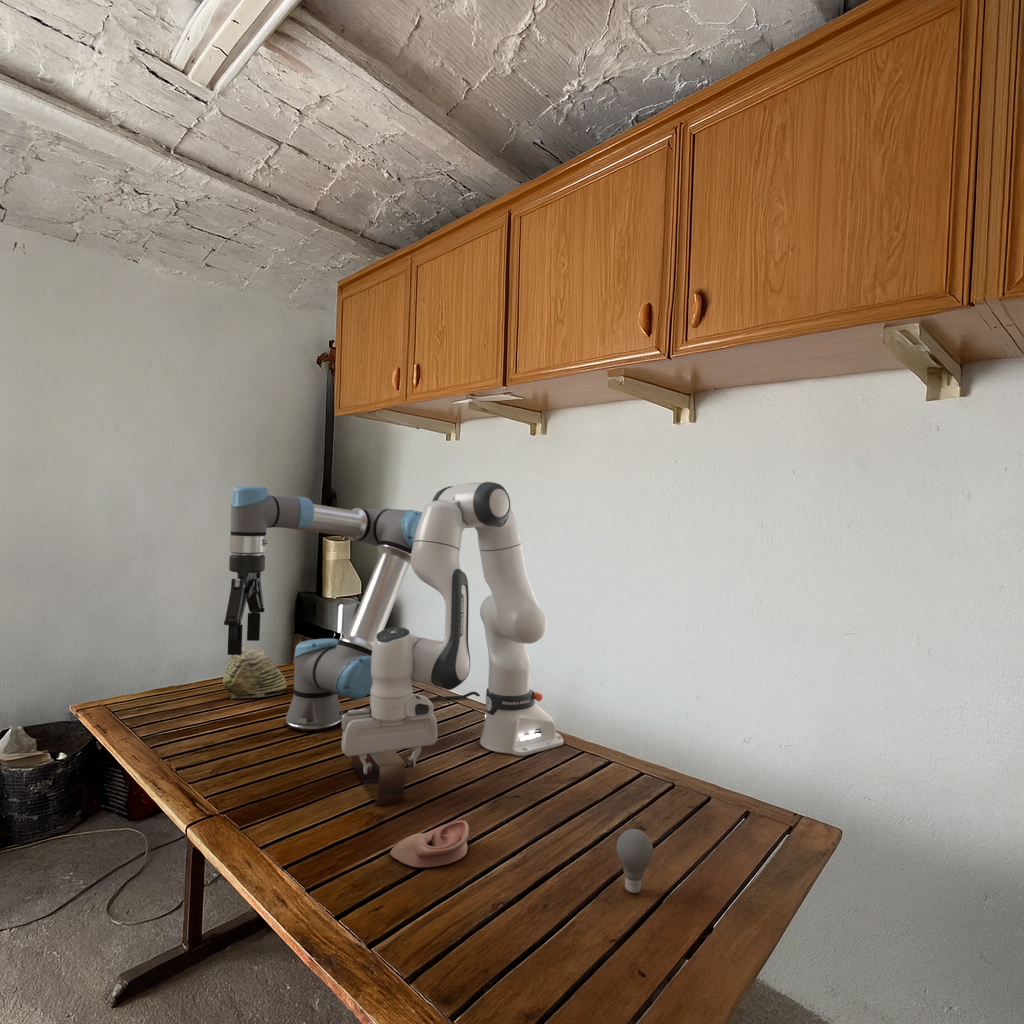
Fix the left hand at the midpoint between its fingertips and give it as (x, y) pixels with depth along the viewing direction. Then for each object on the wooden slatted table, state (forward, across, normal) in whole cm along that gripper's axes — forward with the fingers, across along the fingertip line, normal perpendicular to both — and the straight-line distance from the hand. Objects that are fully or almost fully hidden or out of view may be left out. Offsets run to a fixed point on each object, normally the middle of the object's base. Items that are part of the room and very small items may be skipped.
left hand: (244, 647), depth 144 cm
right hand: (+23, -13, -34) cm, 43 cm away
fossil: (+28, +55, +12) cm, 63 cm away
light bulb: (+28, -48, -78) cm, 95 cm away
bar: (+28, -6, -31) cm, 43 cm away
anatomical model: (+28, -35, -44) cm, 63 cm away
